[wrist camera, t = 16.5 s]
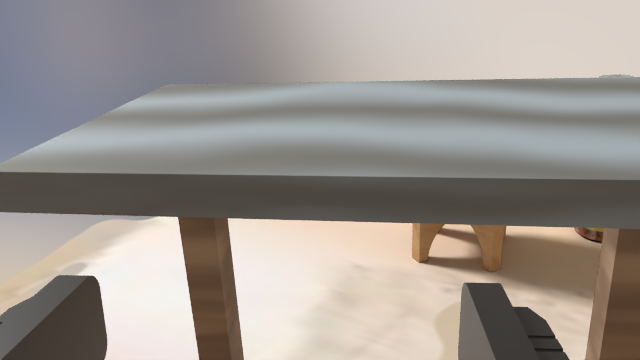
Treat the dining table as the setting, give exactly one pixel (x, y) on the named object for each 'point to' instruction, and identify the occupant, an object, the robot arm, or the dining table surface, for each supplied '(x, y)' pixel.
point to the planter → (486, 234)
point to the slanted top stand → (358, 172)
